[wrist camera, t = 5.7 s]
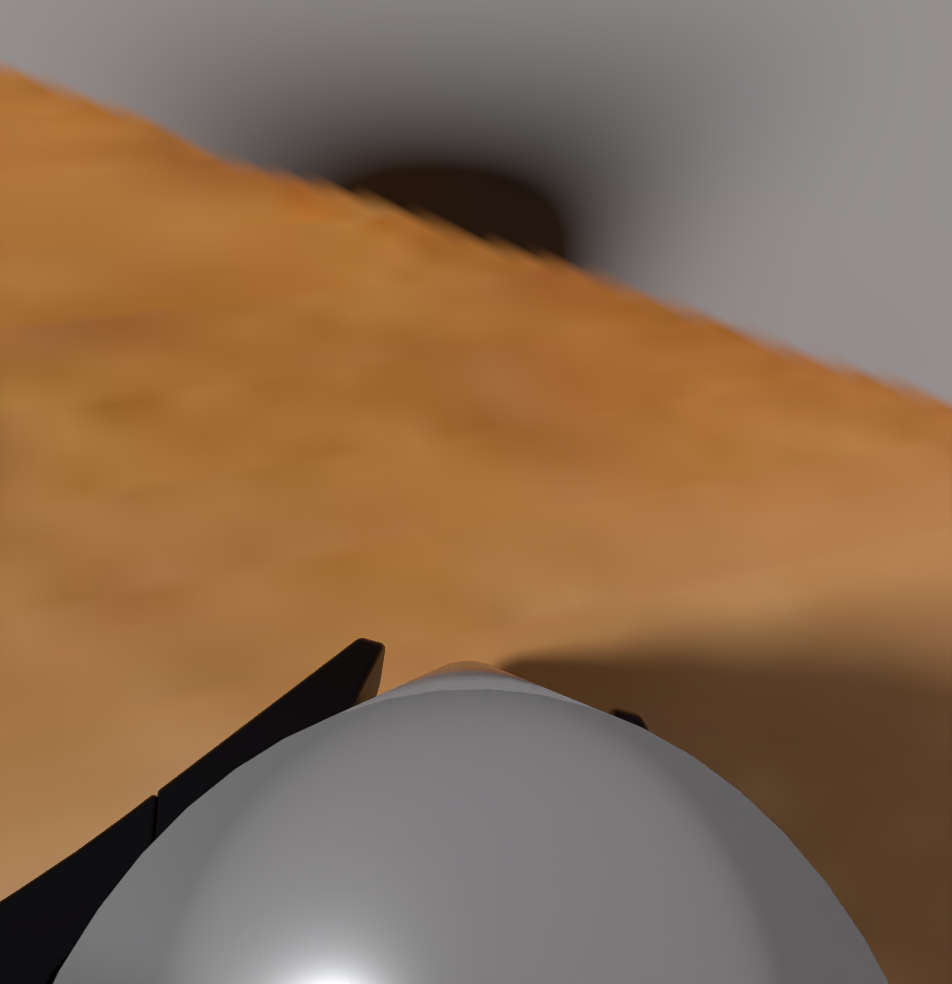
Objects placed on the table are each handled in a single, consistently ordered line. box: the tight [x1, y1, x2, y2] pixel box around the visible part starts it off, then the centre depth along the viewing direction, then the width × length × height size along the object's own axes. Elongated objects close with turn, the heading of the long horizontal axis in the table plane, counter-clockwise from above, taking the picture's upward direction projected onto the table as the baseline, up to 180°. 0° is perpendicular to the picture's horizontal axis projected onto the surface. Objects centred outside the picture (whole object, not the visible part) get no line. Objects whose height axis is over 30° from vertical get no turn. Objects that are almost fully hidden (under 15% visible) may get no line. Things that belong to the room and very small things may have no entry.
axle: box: [53, 661, 889, 984], centre depth 8 cm, size 4×4×13 cm
